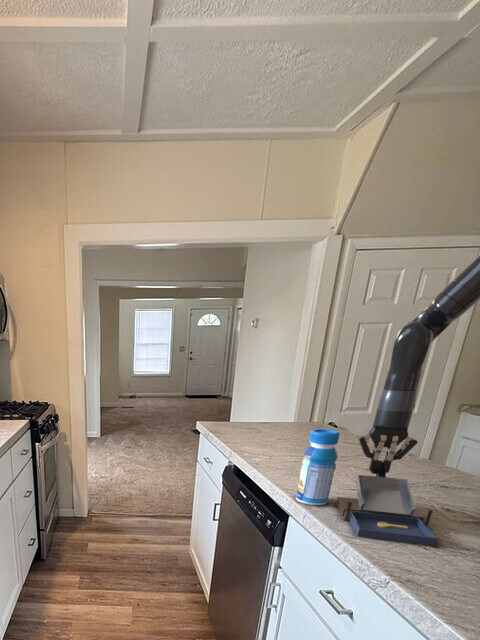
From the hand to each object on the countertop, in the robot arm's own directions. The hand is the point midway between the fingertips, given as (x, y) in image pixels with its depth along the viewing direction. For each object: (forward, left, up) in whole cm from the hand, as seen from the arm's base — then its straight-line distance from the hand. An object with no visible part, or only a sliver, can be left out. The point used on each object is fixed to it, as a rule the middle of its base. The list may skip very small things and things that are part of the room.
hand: (377, 473), depth 109 cm
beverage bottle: (+15, +2, -9) cm, 18 cm away
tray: (0, +18, -9) cm, 21 cm away
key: (-1, +16, -9) cm, 19 cm away
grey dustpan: (0, +5, -3) cm, 6 cm away
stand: (0, +9, -9) cm, 13 cm away
